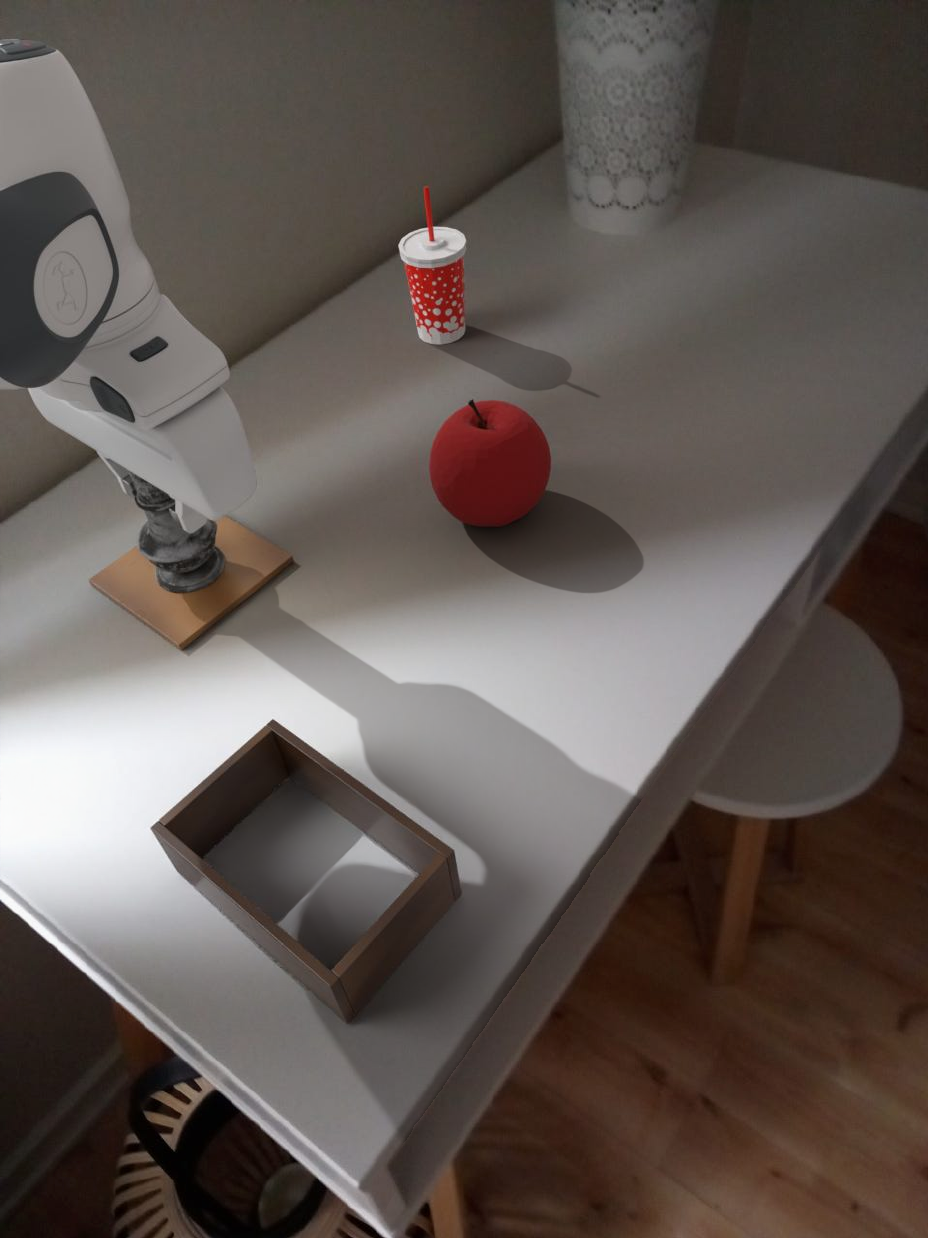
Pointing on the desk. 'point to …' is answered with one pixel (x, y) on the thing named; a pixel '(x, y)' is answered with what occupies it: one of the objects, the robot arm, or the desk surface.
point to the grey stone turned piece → (175, 543)
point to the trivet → (201, 609)
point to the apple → (489, 463)
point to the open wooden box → (283, 755)
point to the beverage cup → (436, 279)
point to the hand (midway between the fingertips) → (166, 508)
